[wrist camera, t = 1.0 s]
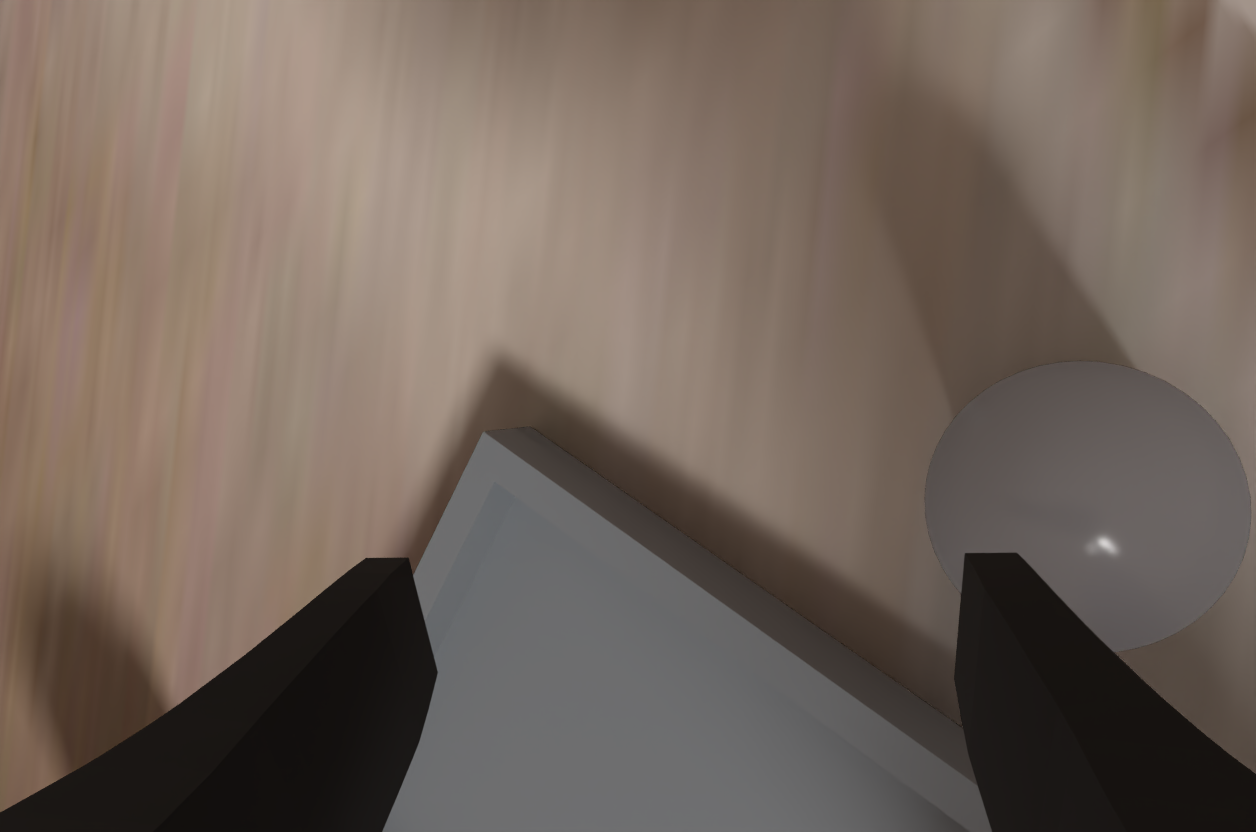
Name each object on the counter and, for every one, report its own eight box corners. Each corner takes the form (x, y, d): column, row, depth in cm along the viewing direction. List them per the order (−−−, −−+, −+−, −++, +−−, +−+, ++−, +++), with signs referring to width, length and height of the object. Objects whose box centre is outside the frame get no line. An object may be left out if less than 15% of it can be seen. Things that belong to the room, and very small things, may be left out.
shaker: (1231, 429, 20) (1323, 463, 13) (1108, 597, 22) (1132, 712, 14) (1036, 328, 22) (1023, 307, 15) (932, 490, 23) (872, 544, 16)
